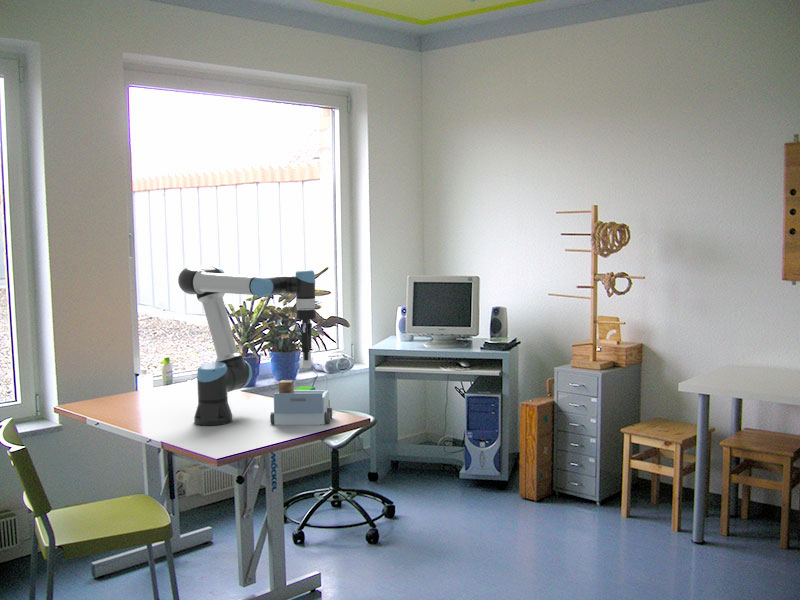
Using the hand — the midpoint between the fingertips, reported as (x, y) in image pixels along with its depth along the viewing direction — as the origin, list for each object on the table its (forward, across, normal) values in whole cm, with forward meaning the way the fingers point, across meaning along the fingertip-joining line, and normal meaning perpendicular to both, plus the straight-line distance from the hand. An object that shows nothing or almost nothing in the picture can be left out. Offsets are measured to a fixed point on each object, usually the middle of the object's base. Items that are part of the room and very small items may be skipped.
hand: (307, 367), depth 307 cm
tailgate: (+17, -5, +3) cm, 18 cm away
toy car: (+23, +20, +1) cm, 30 cm away
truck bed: (+22, +4, +3) cm, 23 cm away
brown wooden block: (+17, 0, +8) cm, 19 cm away
